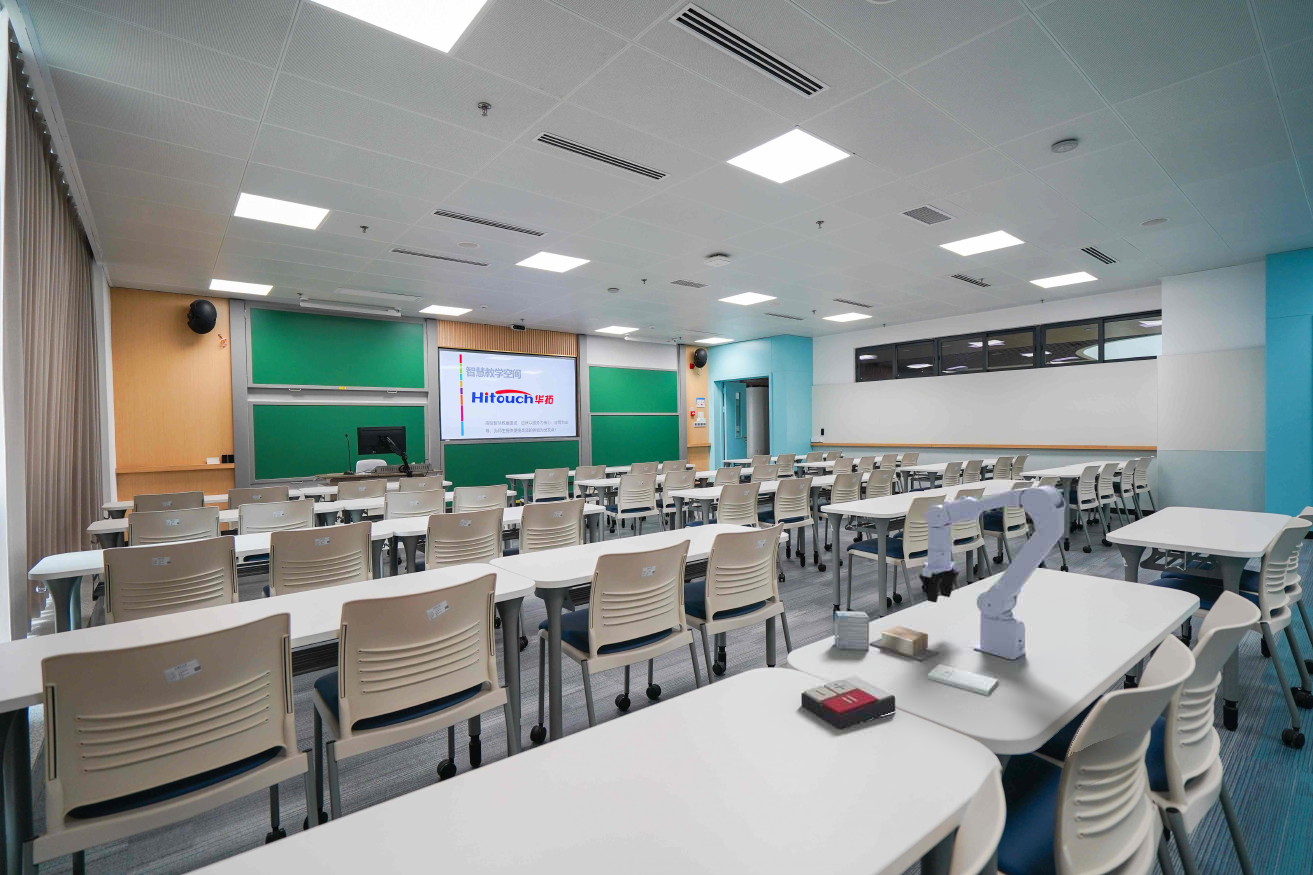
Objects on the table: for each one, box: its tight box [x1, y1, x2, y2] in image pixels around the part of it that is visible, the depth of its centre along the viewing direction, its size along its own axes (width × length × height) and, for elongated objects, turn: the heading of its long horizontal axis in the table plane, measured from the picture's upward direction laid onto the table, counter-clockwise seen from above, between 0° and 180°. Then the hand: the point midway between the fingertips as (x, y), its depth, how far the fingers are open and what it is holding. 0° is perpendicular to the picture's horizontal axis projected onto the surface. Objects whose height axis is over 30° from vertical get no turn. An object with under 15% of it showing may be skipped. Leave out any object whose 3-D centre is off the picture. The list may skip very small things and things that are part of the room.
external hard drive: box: [926, 664, 999, 696], centre depth 133 cm, size 2×8×12 cm
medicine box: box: [834, 610, 870, 651], centre depth 153 cm, size 8×4×9 cm, turn 84°
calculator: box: [800, 675, 896, 730], centre depth 120 cm, size 11×4×15 cm
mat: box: [869, 637, 939, 662], centre depth 152 cm, size 14×8×1 cm, turn 38°
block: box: [881, 625, 929, 655], centre depth 152 cm, size 8×4×8 cm
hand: (938, 598), depth 162 cm, fingers open, 7 cm apart
